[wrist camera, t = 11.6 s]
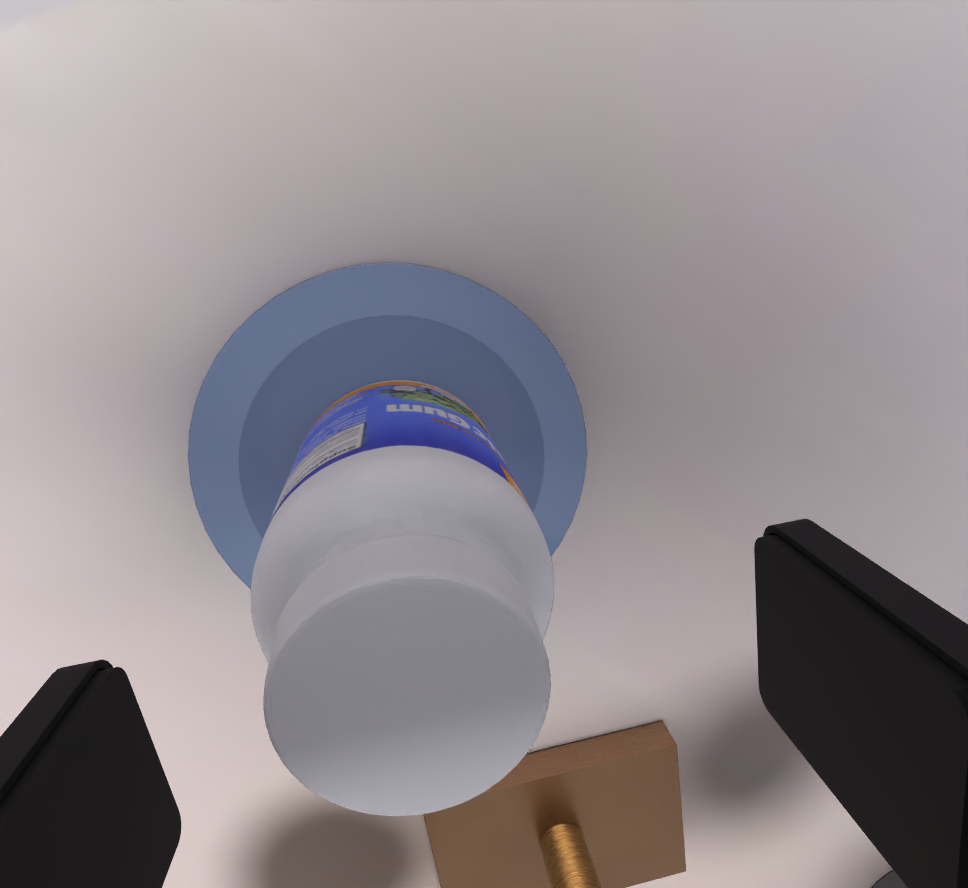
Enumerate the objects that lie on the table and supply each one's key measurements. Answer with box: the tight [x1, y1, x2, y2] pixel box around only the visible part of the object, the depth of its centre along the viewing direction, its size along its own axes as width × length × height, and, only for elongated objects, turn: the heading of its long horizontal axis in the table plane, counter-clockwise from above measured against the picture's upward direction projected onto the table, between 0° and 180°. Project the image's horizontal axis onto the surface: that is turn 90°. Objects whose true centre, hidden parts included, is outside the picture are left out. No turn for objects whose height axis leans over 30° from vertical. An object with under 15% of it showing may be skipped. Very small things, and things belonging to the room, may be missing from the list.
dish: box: [188, 263, 587, 589], centre depth 19 cm, size 11×11×1 cm
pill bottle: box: [251, 380, 554, 816], centre depth 13 cm, size 5×5×10 cm
